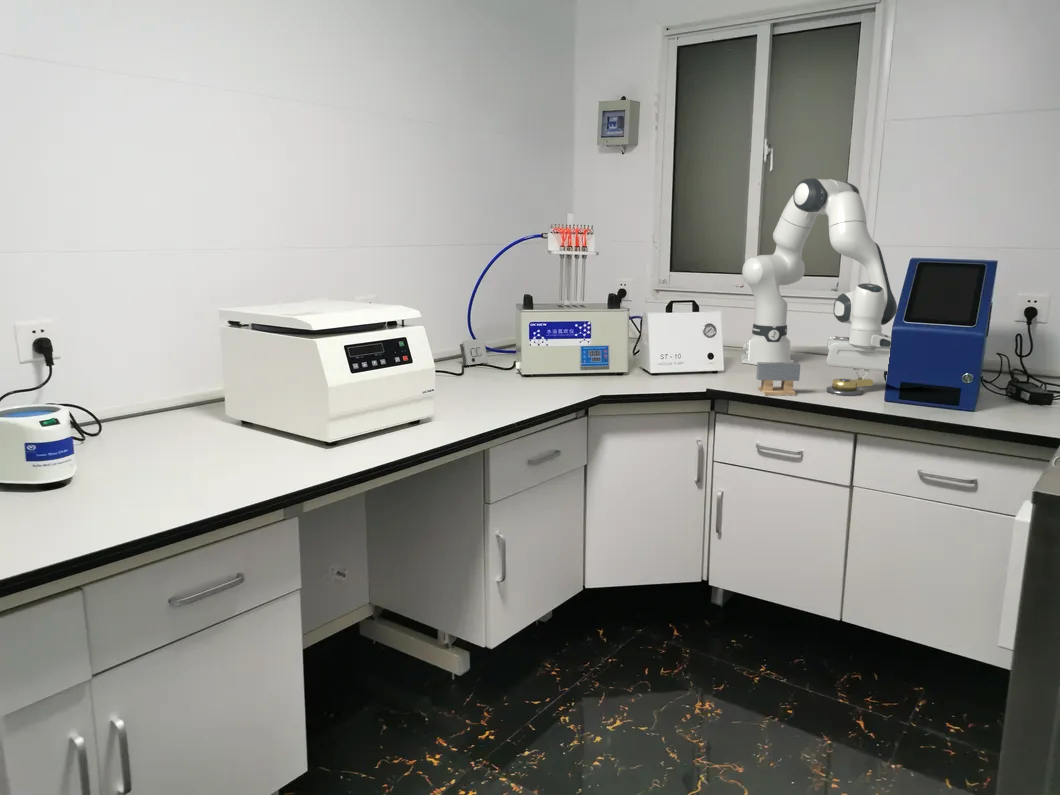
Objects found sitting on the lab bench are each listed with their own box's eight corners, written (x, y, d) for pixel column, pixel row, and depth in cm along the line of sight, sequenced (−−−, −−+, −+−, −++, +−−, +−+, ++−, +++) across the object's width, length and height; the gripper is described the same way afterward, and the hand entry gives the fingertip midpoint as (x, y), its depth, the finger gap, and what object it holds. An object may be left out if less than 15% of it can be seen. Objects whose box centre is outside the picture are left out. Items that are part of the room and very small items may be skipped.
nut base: (821, 388, 244) (822, 385, 244) (854, 389, 244) (854, 385, 244) (832, 395, 234) (833, 392, 234) (867, 396, 234) (867, 392, 234)
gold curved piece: (863, 384, 244) (864, 376, 243) (877, 389, 237) (878, 380, 237) (827, 386, 241) (828, 378, 241) (840, 391, 235) (841, 382, 234)
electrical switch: (468, 367, 281) (466, 341, 279) (459, 366, 285) (457, 340, 283) (488, 364, 287) (486, 338, 286) (479, 363, 291) (478, 338, 289)
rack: (758, 389, 243) (759, 376, 242) (787, 389, 243) (788, 377, 242) (764, 395, 235) (765, 382, 234) (795, 395, 235) (796, 382, 234)
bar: (756, 378, 240) (757, 362, 239) (796, 378, 239) (798, 362, 238) (758, 380, 237) (759, 363, 236) (799, 380, 236) (800, 364, 235)
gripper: (827, 337, 240) (822, 381, 244) (901, 342, 232) (895, 388, 235) (829, 334, 246) (825, 377, 249) (901, 339, 237) (896, 384, 240)
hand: (859, 383), depth 242 cm, fingers closed
